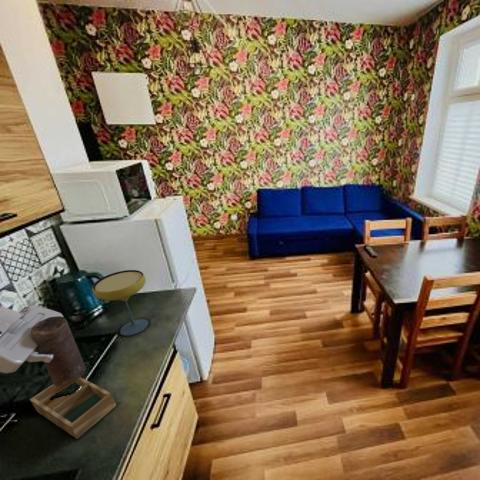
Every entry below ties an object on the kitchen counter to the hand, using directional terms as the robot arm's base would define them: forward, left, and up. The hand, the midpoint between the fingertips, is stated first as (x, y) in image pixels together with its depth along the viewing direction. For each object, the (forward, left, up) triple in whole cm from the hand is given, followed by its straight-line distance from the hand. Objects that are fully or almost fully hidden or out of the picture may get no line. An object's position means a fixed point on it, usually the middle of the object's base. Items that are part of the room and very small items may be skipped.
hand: (60, 347), depth 76 cm
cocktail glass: (-25, +32, -26) cm, 48 cm away
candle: (-1, -1, -12) cm, 12 cm away
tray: (-5, -1, -26) cm, 27 cm away
